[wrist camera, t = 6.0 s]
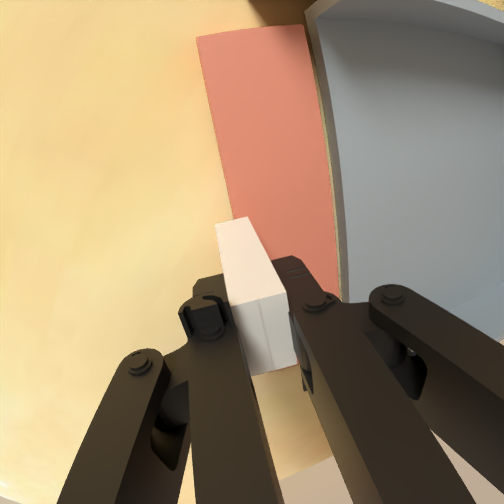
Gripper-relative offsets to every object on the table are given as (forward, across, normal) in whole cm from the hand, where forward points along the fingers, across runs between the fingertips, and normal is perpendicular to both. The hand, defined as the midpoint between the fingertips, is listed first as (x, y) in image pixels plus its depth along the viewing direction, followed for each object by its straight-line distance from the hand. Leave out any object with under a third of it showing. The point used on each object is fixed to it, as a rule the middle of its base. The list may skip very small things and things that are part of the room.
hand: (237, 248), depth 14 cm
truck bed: (+3, +15, 0) cm, 15 cm away
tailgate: (+2, +5, 0) cm, 6 cm away
